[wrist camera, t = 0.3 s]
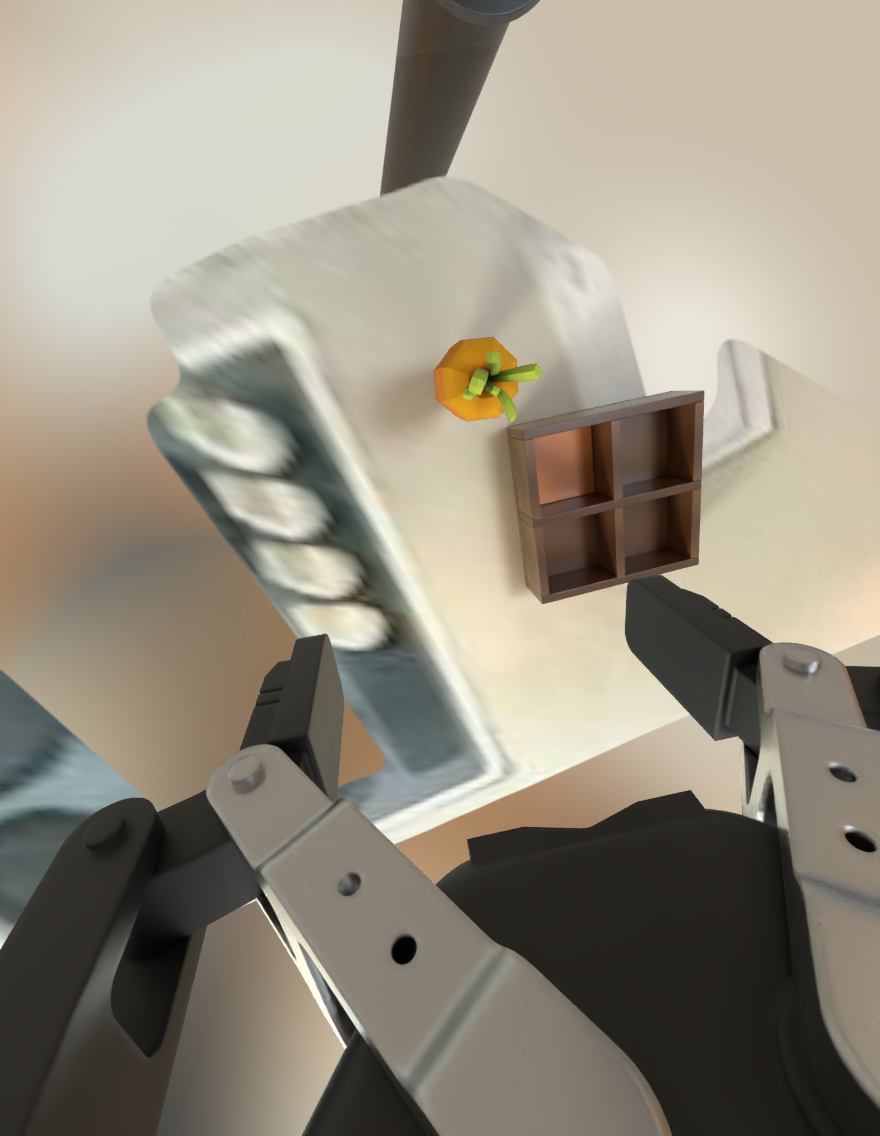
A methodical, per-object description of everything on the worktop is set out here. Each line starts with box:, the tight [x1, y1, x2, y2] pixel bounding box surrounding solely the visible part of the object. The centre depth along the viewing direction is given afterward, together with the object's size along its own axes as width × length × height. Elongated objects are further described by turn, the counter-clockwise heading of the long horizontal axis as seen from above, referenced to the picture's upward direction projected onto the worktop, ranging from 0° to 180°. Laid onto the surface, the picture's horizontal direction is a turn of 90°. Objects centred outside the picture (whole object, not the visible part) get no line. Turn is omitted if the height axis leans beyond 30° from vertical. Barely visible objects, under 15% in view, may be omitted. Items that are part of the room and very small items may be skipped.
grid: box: [507, 391, 704, 604], centre depth 41 cm, size 15×15×4 cm
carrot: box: [434, 337, 542, 422], centre depth 30 cm, size 5×5×15 cm
